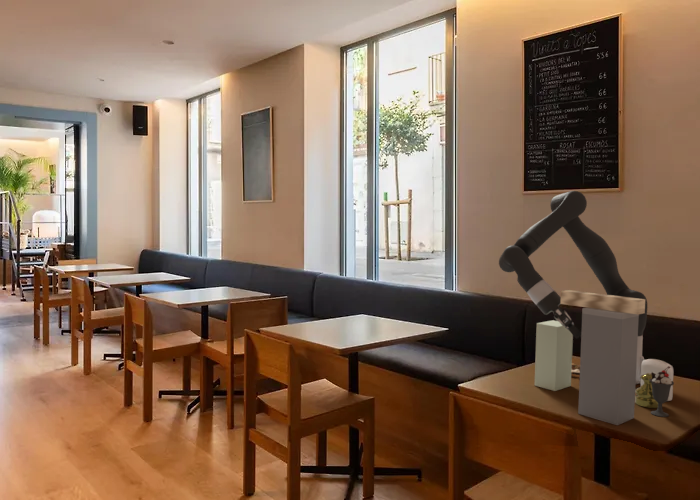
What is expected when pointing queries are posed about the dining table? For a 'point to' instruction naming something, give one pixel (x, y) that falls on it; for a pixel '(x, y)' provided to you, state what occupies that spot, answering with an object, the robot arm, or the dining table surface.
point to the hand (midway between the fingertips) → (579, 336)
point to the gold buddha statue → (645, 393)
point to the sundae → (661, 390)
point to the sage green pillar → (553, 356)
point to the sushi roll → (575, 371)
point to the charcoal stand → (608, 365)
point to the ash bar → (603, 302)
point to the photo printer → (657, 370)
